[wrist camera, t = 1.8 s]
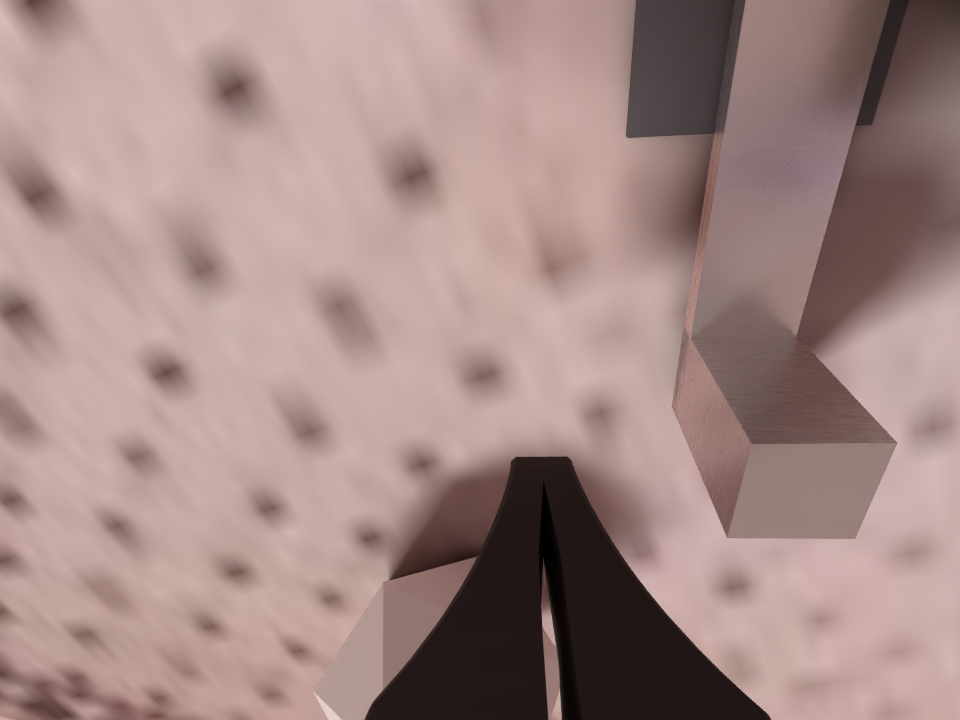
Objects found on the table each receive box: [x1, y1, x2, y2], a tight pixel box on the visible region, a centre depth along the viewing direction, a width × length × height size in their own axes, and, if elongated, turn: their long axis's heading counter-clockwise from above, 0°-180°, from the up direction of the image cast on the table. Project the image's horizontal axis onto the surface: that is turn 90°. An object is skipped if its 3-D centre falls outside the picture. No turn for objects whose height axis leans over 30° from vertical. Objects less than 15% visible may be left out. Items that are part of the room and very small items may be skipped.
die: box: [313, 556, 560, 720], centre depth 21 cm, size 8×9×10 cm
